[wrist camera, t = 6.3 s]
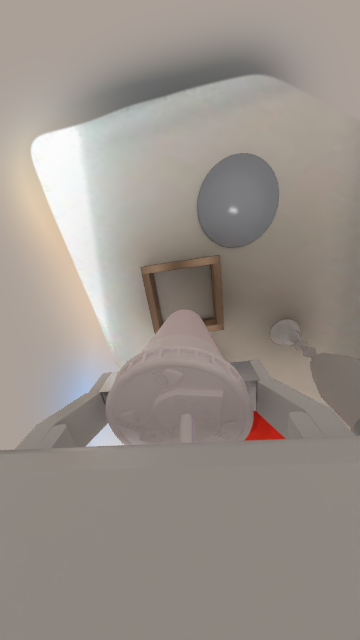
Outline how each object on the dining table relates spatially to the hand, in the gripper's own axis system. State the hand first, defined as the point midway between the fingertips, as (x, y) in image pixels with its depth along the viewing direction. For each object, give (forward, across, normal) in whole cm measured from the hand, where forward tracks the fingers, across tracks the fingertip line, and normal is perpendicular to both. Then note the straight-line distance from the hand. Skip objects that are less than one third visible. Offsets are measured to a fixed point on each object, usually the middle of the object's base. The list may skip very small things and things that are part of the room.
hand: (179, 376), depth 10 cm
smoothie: (+7, 0, 0) cm, 7 cm away
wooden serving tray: (+21, 0, 0) cm, 21 cm away
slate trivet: (+21, -9, -12) cm, 26 cm away
